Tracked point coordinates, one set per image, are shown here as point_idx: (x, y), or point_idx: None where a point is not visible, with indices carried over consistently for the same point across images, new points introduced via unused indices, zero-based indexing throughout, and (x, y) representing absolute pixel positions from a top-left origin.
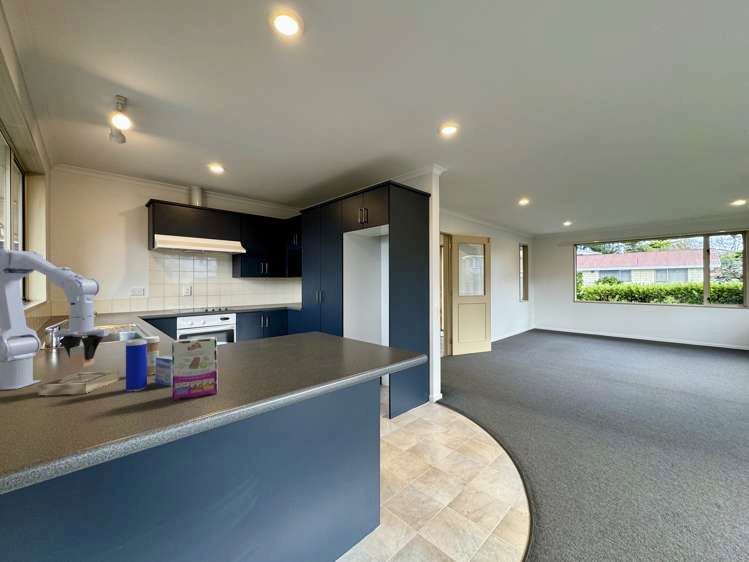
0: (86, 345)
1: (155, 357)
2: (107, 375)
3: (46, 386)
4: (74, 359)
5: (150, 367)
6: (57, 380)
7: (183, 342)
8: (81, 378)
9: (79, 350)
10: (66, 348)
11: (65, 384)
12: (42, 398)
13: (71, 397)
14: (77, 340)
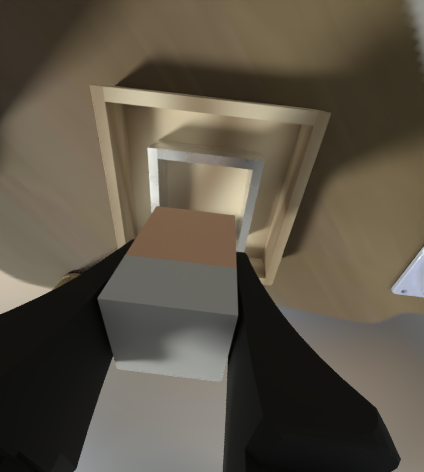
0: (45, 312)
1: None
2: (116, 220)
3: (289, 108)
4: (204, 239)
5: None
6: (290, 198)
7: None
8: None
9: (150, 283)
10: (274, 318)
11: (196, 98)
12: (271, 55)
13: (139, 37)
14: (230, 436)
